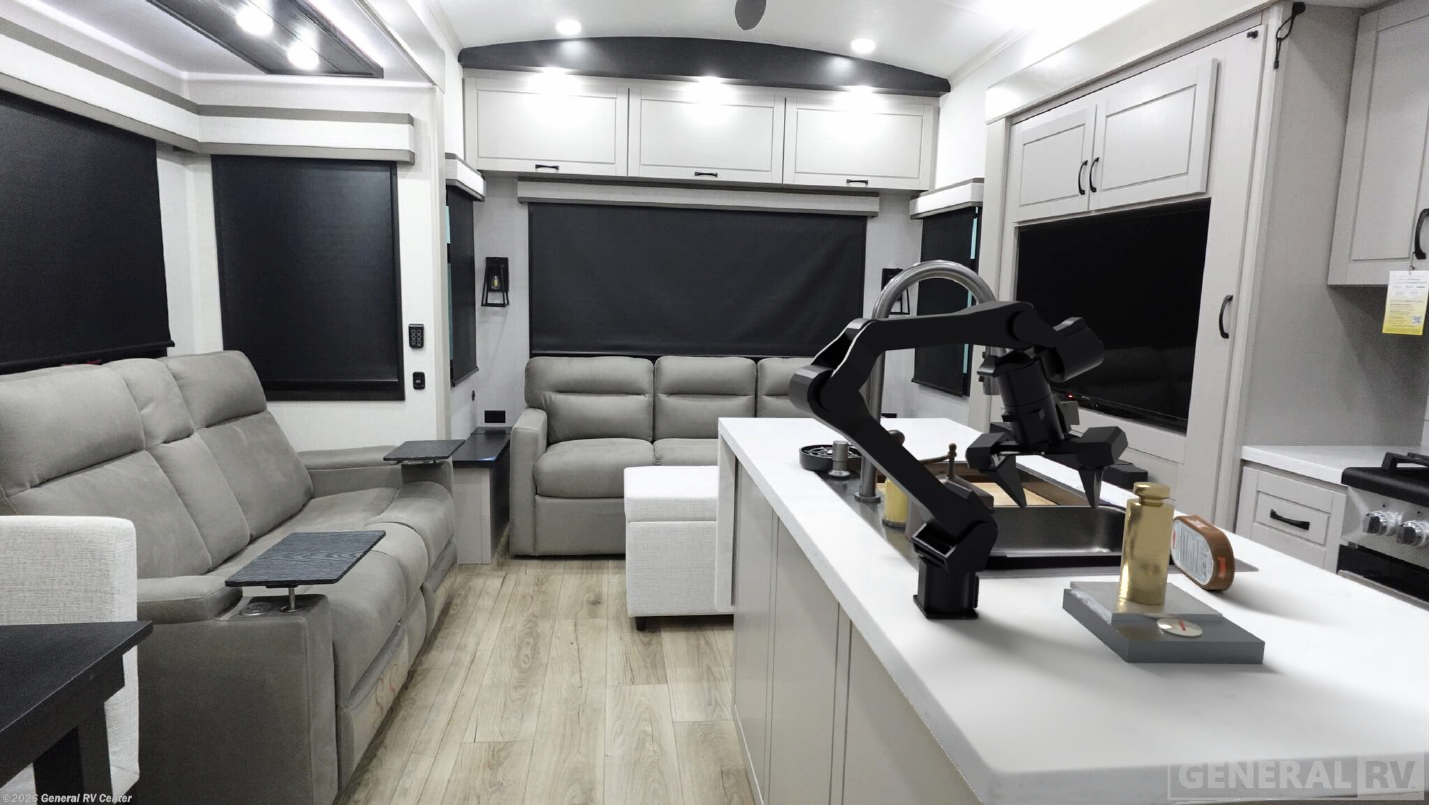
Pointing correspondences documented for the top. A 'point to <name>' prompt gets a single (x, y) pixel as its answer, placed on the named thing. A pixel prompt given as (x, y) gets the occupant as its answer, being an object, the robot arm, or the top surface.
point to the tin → (1202, 553)
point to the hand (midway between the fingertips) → (1058, 508)
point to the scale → (1160, 626)
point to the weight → (1146, 544)
